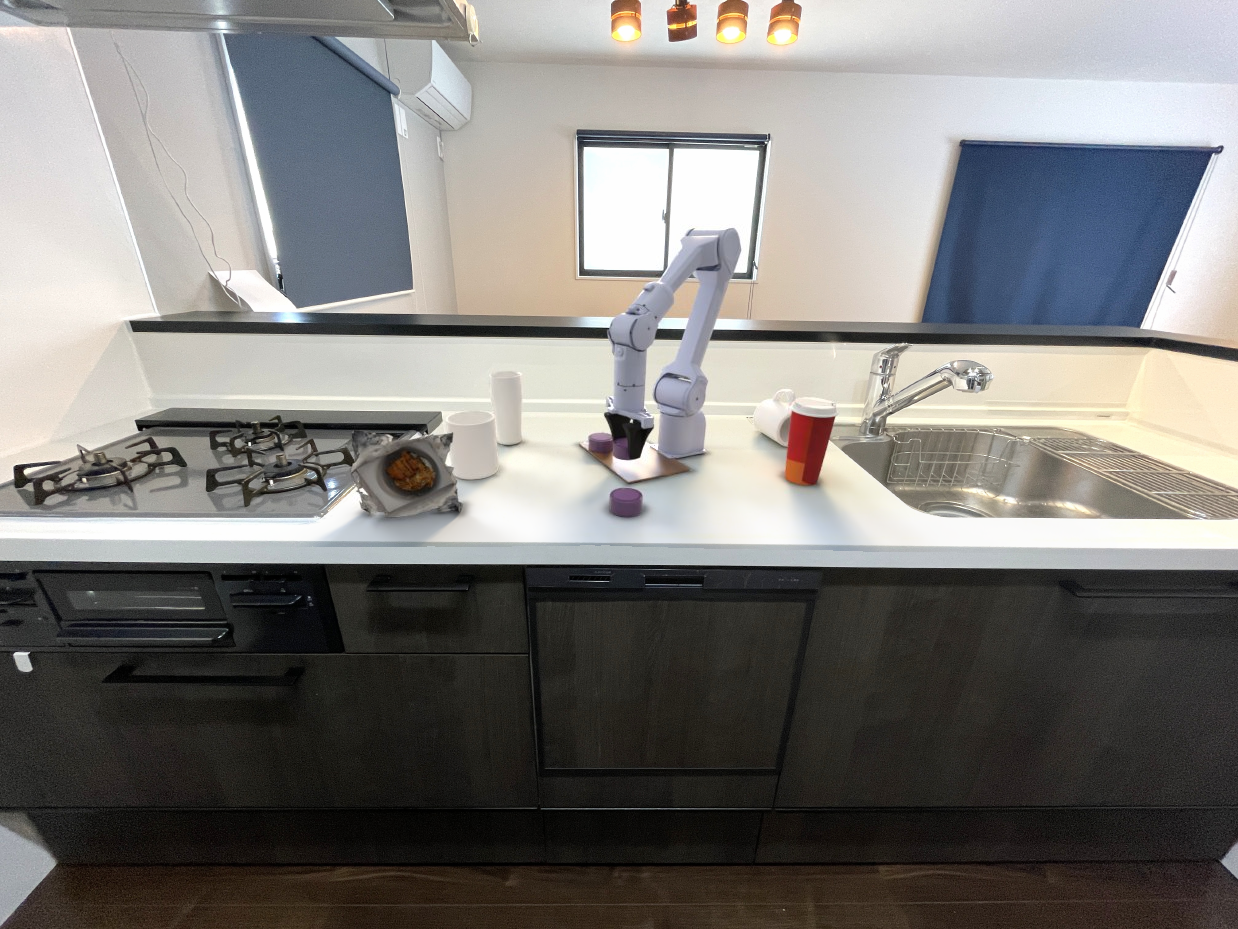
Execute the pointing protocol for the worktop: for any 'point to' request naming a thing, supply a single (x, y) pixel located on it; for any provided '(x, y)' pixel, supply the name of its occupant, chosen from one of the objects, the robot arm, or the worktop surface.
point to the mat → (640, 465)
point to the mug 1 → (473, 444)
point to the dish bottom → (625, 502)
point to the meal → (404, 474)
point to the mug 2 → (775, 417)
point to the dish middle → (621, 449)
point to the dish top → (600, 442)
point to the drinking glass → (507, 405)
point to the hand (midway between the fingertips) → (627, 452)
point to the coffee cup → (808, 438)
